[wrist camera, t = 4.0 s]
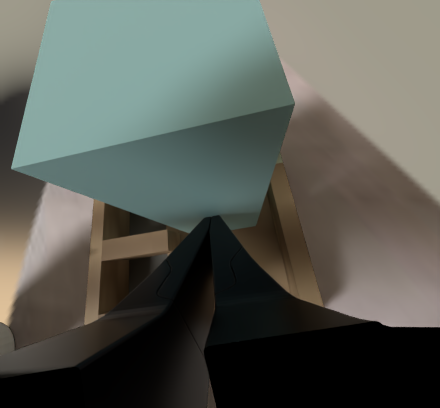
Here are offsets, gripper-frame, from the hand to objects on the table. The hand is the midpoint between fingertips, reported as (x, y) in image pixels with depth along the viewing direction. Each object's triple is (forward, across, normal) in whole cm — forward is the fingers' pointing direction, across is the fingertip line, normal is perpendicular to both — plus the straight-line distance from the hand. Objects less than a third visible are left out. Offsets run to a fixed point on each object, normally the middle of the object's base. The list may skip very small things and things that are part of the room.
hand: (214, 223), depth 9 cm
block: (+6, 0, +2) cm, 6 cm away
